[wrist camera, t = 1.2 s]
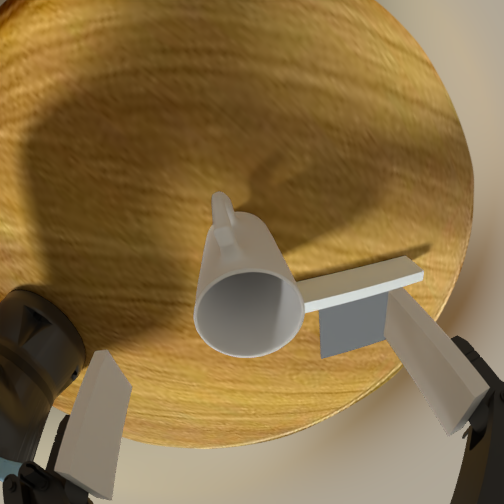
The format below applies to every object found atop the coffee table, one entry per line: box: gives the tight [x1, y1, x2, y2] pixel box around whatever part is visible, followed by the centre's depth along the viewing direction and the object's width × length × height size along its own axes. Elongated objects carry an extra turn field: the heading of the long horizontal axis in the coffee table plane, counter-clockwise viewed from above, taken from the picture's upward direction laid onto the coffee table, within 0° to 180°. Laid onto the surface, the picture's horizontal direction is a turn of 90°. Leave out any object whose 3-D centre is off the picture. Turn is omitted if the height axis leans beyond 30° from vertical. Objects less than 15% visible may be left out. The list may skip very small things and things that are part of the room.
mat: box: [319, 287, 401, 359], centre depth 33 cm, size 11×11×1 cm
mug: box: [194, 191, 305, 358], centre depth 22 cm, size 10×7×12 cm, turn 15°
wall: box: [296, 255, 424, 313], centre depth 29 cm, size 22×1×4 cm, turn 100°
